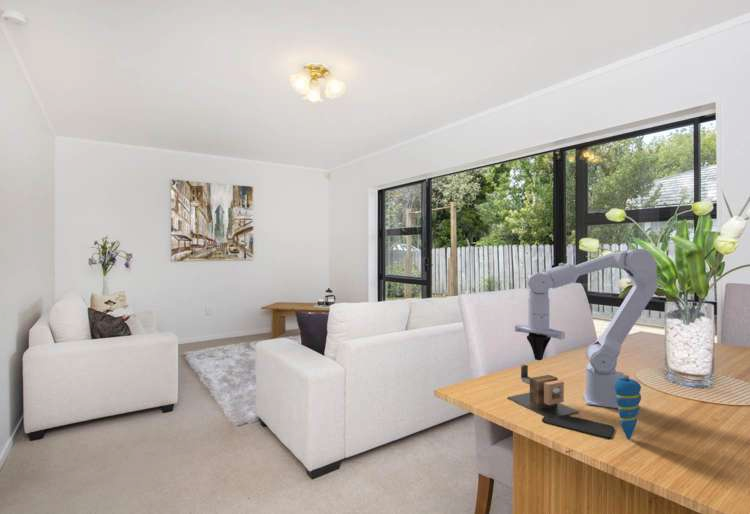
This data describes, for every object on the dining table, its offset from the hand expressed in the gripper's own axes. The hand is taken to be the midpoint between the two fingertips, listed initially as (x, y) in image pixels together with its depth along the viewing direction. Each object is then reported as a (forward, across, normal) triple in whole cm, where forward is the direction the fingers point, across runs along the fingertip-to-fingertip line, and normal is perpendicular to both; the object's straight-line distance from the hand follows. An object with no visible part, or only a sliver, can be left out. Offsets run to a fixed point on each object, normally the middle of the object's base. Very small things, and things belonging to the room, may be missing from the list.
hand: (538, 359), depth 115 cm
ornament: (+11, -27, +10) cm, 30 cm away
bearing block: (+10, -5, +7) cm, 14 cm away
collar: (+8, -9, +8) cm, 14 cm away
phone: (+11, -16, +12) cm, 23 cm away
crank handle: (+6, -4, +7) cm, 10 cm away
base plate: (+10, -5, +7) cm, 13 cm away
